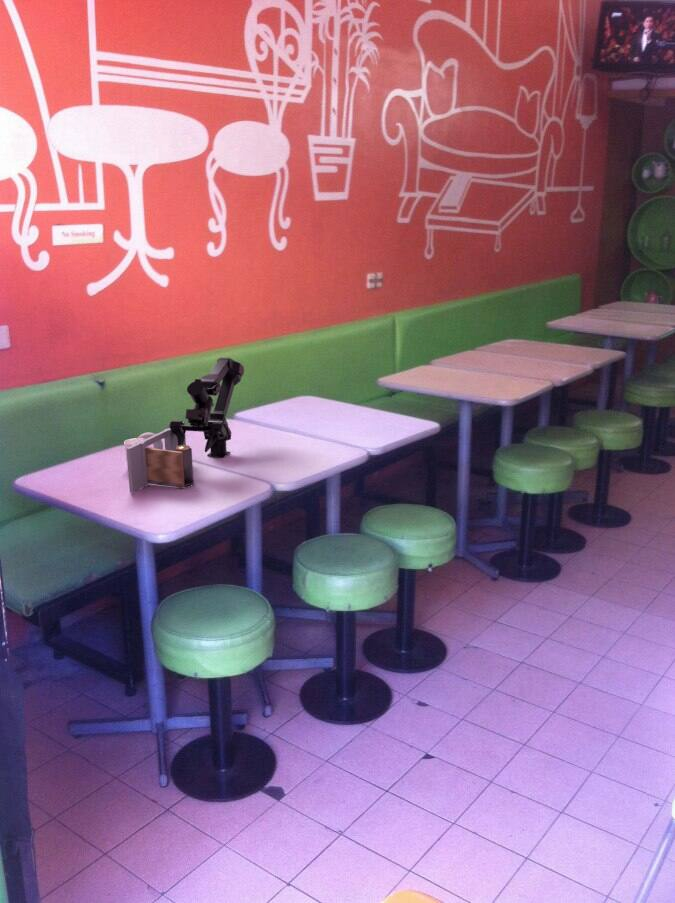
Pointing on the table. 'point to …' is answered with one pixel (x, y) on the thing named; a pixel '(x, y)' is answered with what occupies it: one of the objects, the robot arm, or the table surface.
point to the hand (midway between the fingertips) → (192, 451)
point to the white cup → (131, 442)
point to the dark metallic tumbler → (187, 464)
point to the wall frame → (138, 457)
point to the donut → (156, 445)
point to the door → (165, 467)
